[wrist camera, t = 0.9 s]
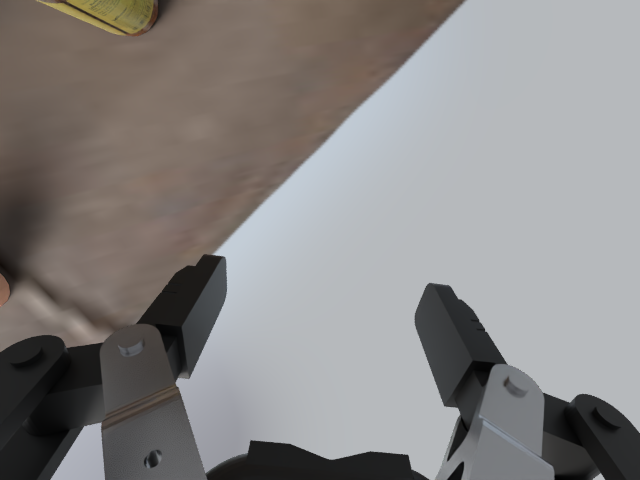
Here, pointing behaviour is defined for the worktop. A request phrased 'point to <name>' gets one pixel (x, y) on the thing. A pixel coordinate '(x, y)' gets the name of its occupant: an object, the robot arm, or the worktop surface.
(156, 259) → the worktop surface
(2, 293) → the pepper shaker
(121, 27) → the sauce bottle
